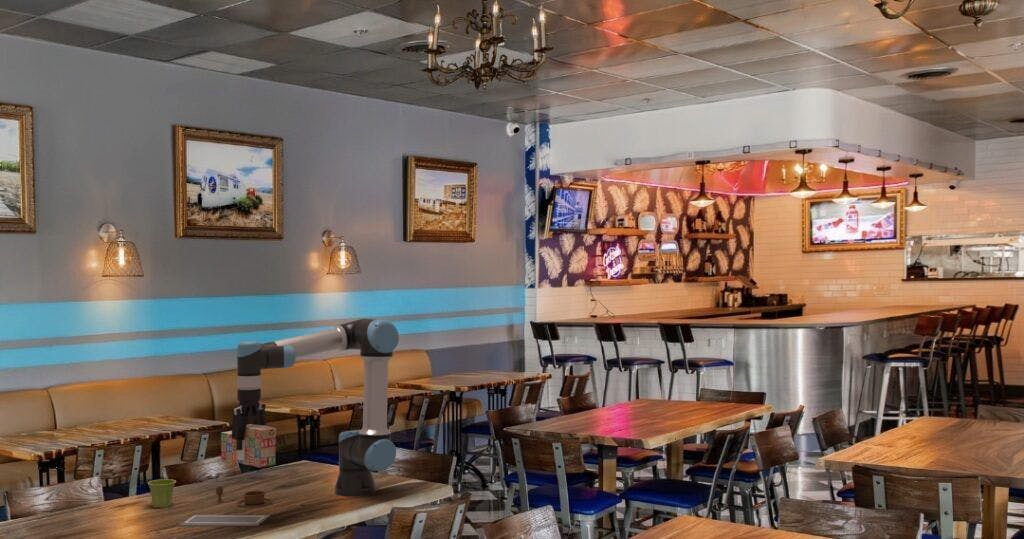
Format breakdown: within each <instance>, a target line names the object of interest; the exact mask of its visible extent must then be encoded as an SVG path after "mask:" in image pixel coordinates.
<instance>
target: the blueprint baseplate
mask: <svg viewBox="0 0 1024 539" xmlns="http://www.w3.org/2000/svg"><path fill="white" fill-rule="evenodd" d="M269 517H271V515H270V514H193V515H192V516H190V517H188V518H187V519H185V520H184V521H183V522H181V523H179V524H178V527H183V528H184V527H186V526H187V527H258V526H259V525H261V524H262V523H263V522H265V520H267V519H269ZM260 523H261V524H260Z"/></svg>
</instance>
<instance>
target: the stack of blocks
mask: <svg viewBox="0 0 1024 539" xmlns="http://www.w3.org/2000/svg"><path fill="white" fill-rule="evenodd" d="M276 436H277V427H272V426H269V425H266V426H265V425H255V424H252V423H249V424H247V426H246V430H245V435H244V439H243V440H245V460H237V441H236V440H234V439H232V430H228V431H222V432H220V442H221V443H220V451H221V452H220V456H221V457H220V459H221V460H223V461H226V462H232V463H237V464H243V465H245V466H246V465H247V466H250V467H251V466H252V467H256V468H266V467H271V466H275V465H276V460H277V459H276V457H277V456H276V451H277V450H276V448H277V447H276V445H277V443H276V442H277V437H276Z"/></svg>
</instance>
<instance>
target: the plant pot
mask: <svg viewBox="0 0 1024 539" xmlns="http://www.w3.org/2000/svg"><path fill="white" fill-rule="evenodd" d="M176 483H177V480H175V479H173V478H172V479H171V478H170V479H169V478H168V479H167V478H165V479H164V478H161V479H160V478H159V479H155V480H150V481H148V482H147V484H148V487H149V489H150V496H151V502H152V507H153V508H154V509H155V508H156V509H157V508H161V509H162V508H168V507H170V506H172V502H173V501H172V499H173V495H174V494H173V492H174V487H175V484H176Z"/></svg>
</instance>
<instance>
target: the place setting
mask: <svg viewBox="0 0 1024 539" xmlns="http://www.w3.org/2000/svg"><path fill="white" fill-rule="evenodd" d="M215 494H216V495H217V496H218V503H221V502H222V496H223V494H224V487H223V486H218V487H215ZM243 498H244V499H242V500H239V501H237V502H236V504H237V505H238V506H237V507H238V508H243V507H244V508H245V509H247V508H253V509H254V507H255V508H261V507H262V508H263V507H267V506H269V505H271V504H272V501H273V500H272V499H271V498H267V497H265V492H264V491H262V490H250V491H247V492H245V493H244V496H243ZM265 500H266V501H267V503H263V502H264V501H265ZM242 502H243V503H245V504H247V505H244V504H243V503H242ZM239 503H240V504H239ZM262 503H263V504H262ZM258 504H259V505H258ZM266 505H267V506H266Z"/></svg>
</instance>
